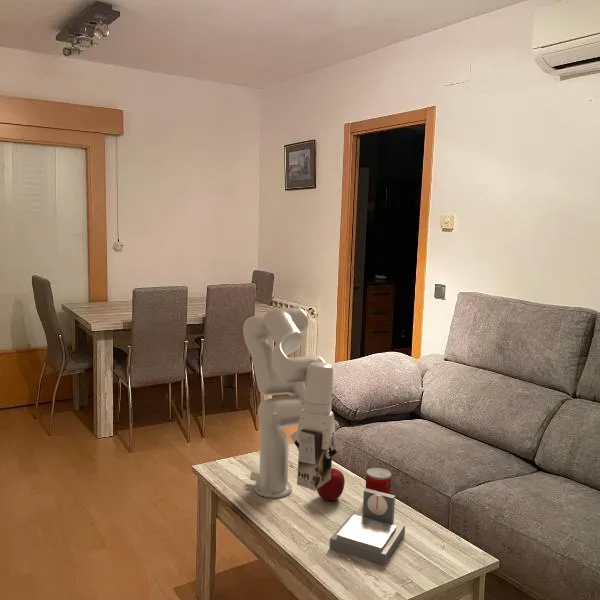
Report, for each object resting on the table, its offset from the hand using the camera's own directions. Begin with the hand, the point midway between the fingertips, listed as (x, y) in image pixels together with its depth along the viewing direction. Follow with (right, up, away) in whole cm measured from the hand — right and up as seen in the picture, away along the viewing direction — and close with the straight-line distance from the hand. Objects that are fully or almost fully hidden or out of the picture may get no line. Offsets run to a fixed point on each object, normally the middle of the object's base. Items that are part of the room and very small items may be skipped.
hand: (315, 466), depth 164 cm
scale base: (+15, -21, 0) cm, 26 cm away
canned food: (+21, -19, +22) cm, 35 cm away
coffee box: (0, -5, +1) cm, 5 cm away
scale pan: (+15, -18, -2) cm, 24 cm away
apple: (+5, -18, +25) cm, 31 cm away
